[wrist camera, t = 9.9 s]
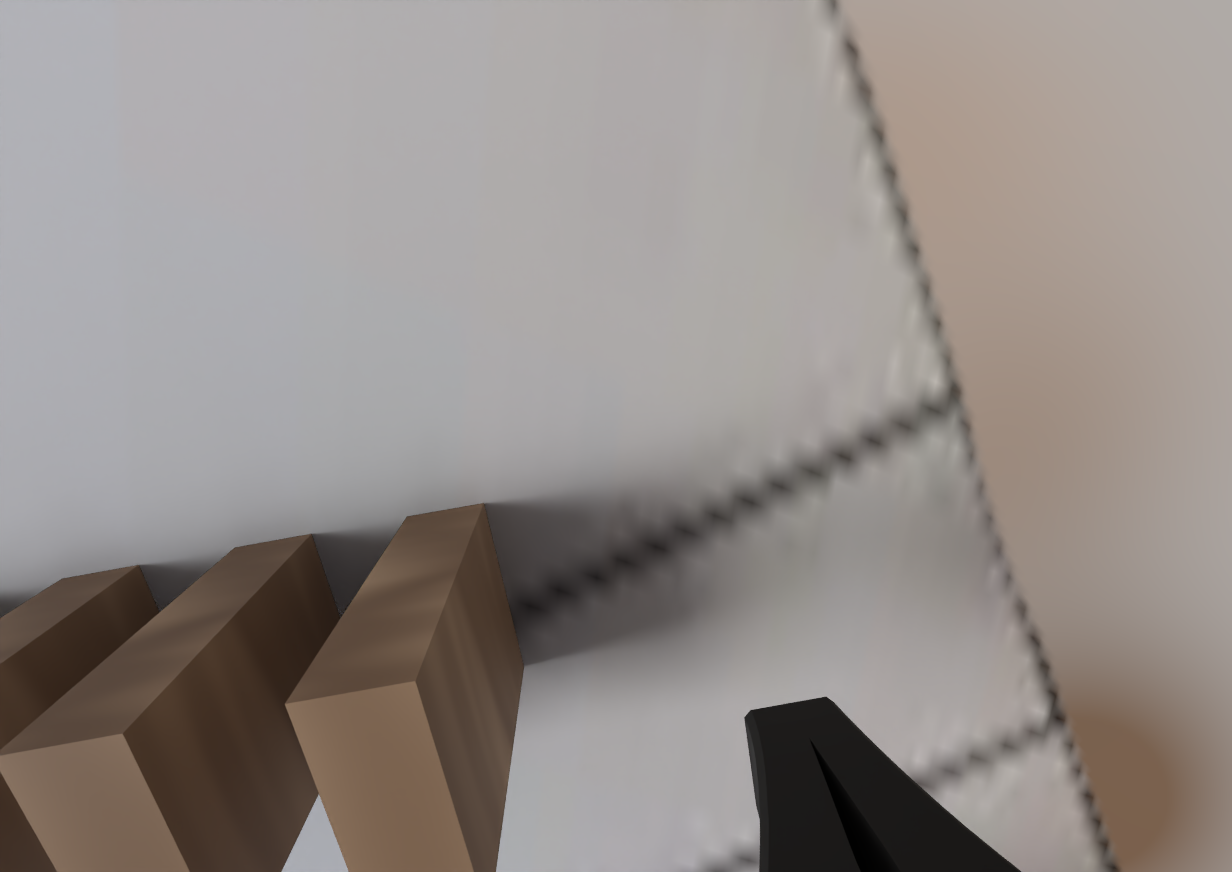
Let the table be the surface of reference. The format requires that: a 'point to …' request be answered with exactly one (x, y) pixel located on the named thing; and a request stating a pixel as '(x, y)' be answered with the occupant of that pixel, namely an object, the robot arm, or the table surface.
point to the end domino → (417, 703)
